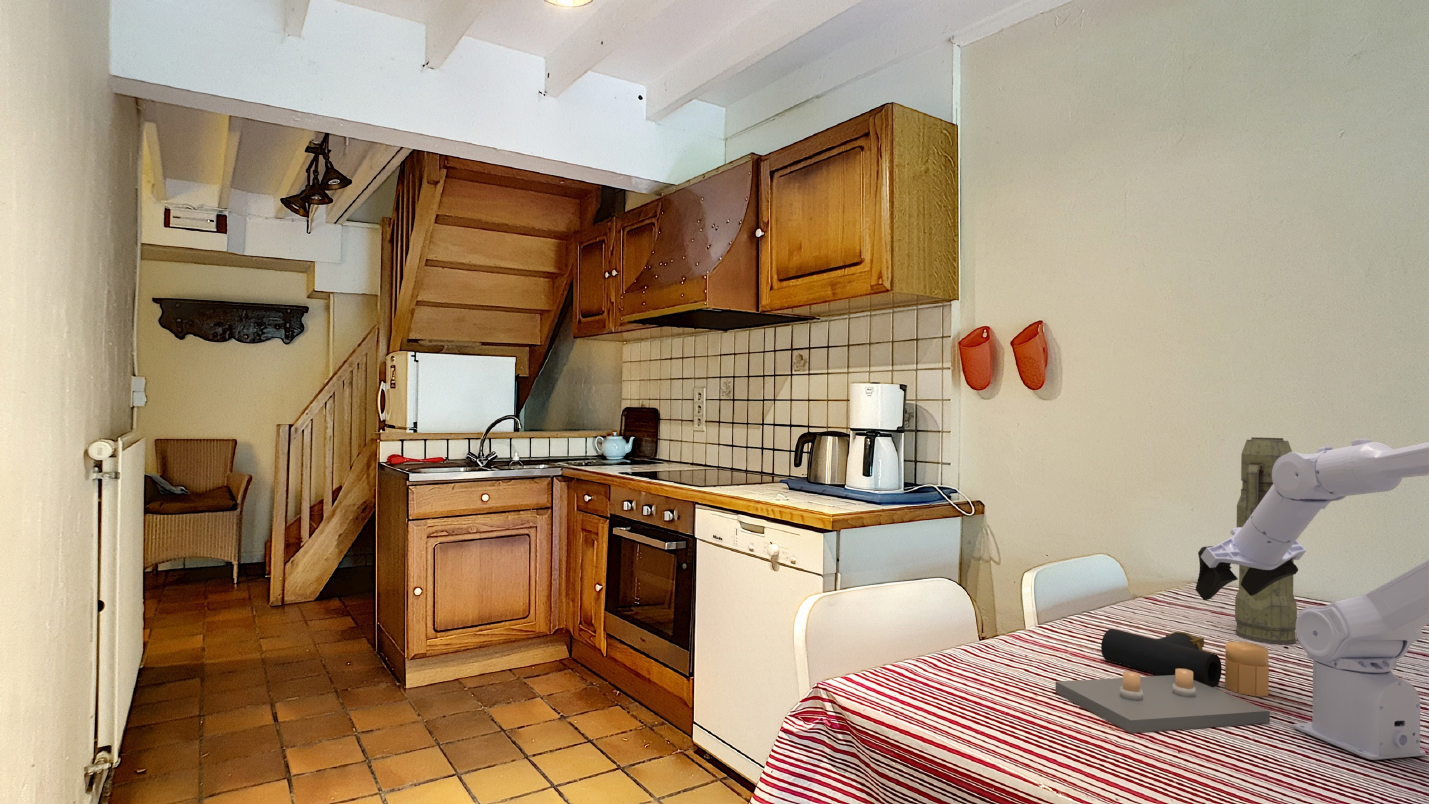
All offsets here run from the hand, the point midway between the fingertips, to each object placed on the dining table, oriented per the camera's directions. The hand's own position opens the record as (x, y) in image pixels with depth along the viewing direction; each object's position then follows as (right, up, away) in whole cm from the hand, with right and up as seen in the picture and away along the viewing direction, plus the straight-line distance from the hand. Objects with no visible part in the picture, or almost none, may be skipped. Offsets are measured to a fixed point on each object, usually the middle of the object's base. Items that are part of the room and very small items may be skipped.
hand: (1224, 592), depth 114 cm
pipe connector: (-4, -14, +6) cm, 15 cm away
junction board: (-15, -12, -11) cm, 22 cm away
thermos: (+24, -14, +26) cm, 38 cm away
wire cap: (+1, -13, -3) cm, 13 cm away
